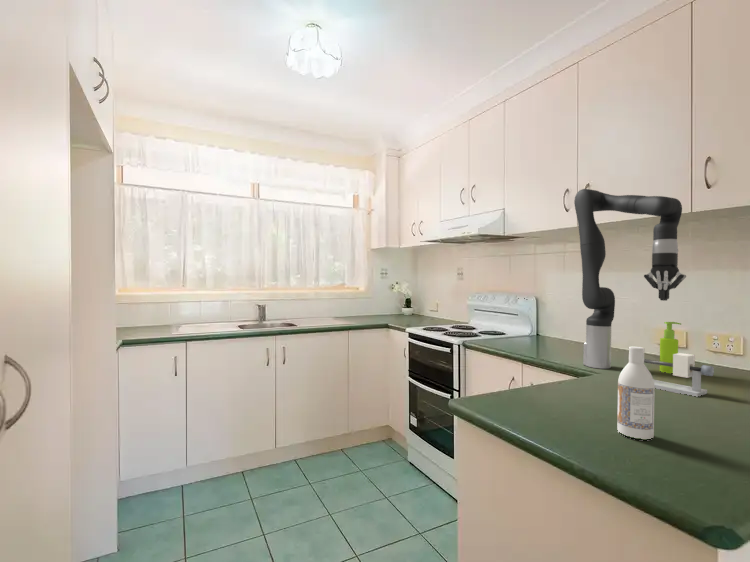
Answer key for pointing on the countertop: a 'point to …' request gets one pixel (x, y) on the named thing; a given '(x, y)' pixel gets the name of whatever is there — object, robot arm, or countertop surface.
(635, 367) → the bath foam
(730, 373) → the countertop surface
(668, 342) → the soap dispenser
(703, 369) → the rod slider assembly
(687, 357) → the sleeve
